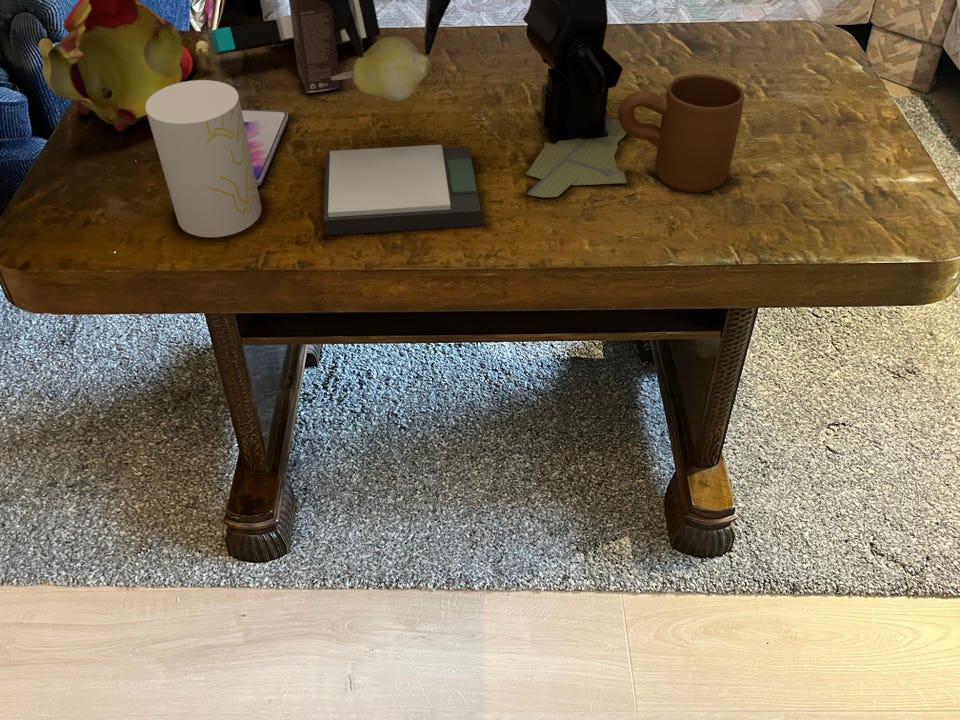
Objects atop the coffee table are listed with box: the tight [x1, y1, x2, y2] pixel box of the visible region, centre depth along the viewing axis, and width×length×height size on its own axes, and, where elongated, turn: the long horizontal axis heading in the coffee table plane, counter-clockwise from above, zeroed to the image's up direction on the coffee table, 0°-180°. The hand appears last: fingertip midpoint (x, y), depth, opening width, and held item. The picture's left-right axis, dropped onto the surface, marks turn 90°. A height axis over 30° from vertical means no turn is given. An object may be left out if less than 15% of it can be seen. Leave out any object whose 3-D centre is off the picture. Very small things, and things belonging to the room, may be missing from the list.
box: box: [288, 0, 341, 94], centre depth 104 cm, size 6×4×12 cm
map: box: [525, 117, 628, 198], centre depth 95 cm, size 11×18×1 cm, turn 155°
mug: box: [617, 73, 745, 193], centre depth 89 cm, size 12×8×9 cm, turn 87°
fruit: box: [331, 35, 431, 102], centre depth 87 cm, size 6×6×10 cm
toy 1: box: [37, 0, 184, 132], centre depth 96 cm, size 15×15×13 cm
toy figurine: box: [179, 40, 210, 82], centre depth 107 cm, size 8×4×8 cm
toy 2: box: [209, 0, 381, 56], centre depth 111 cm, size 10×5×20 cm
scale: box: [323, 144, 482, 236], centre depth 89 cm, size 15×12×2 cm
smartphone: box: [241, 108, 289, 187], centre depth 96 cm, size 7×1×15 cm
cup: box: [145, 79, 262, 238], centre depth 84 cm, size 8×8×12 cm
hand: (394, 54), depth 86 cm, fingers closed on fruit, 6 cm apart
